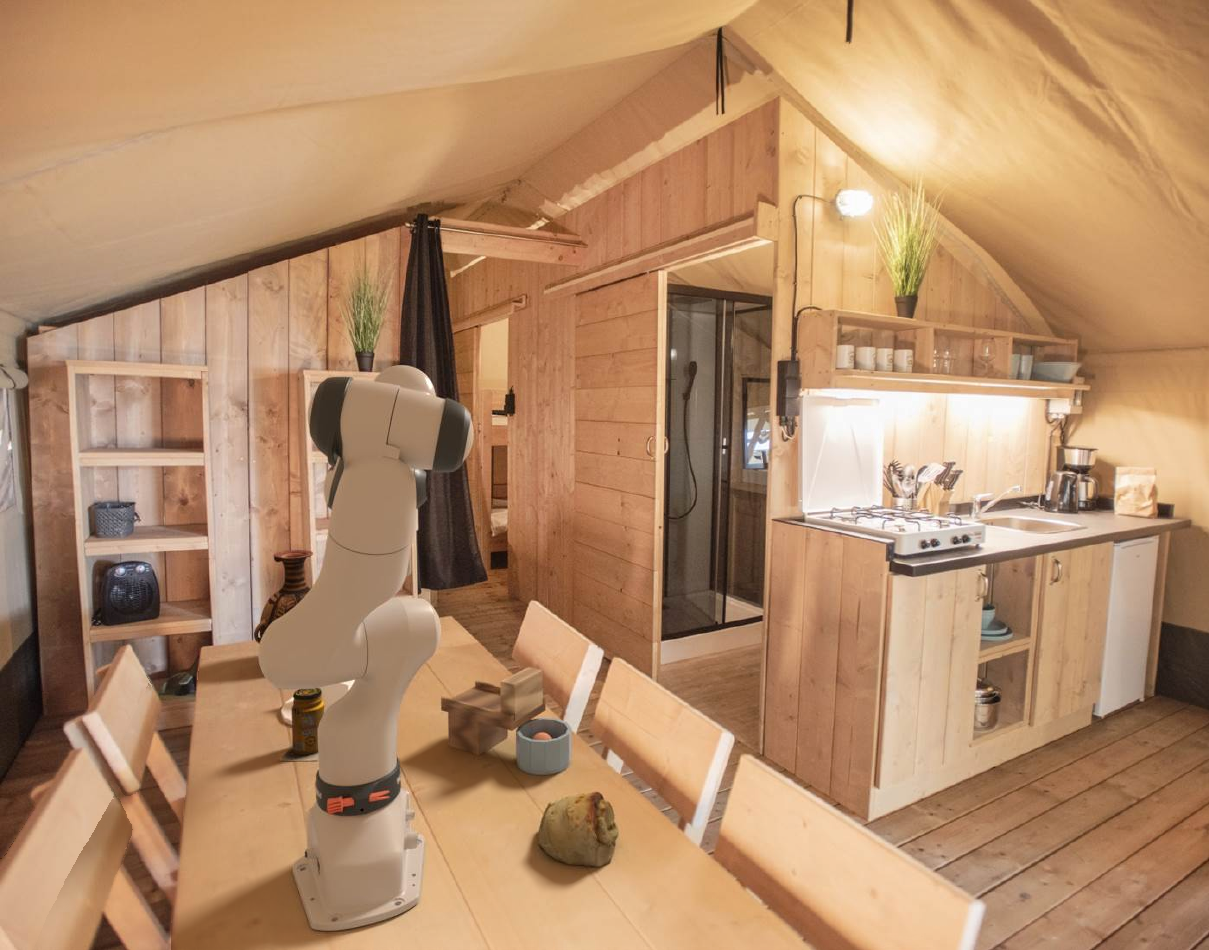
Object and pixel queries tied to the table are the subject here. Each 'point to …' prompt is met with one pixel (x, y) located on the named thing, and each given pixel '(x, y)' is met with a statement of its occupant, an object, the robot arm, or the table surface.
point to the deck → (480, 718)
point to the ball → (541, 736)
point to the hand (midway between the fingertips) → (397, 589)
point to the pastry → (579, 830)
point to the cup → (543, 746)
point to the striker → (522, 692)
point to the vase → (285, 589)
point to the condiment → (305, 725)
